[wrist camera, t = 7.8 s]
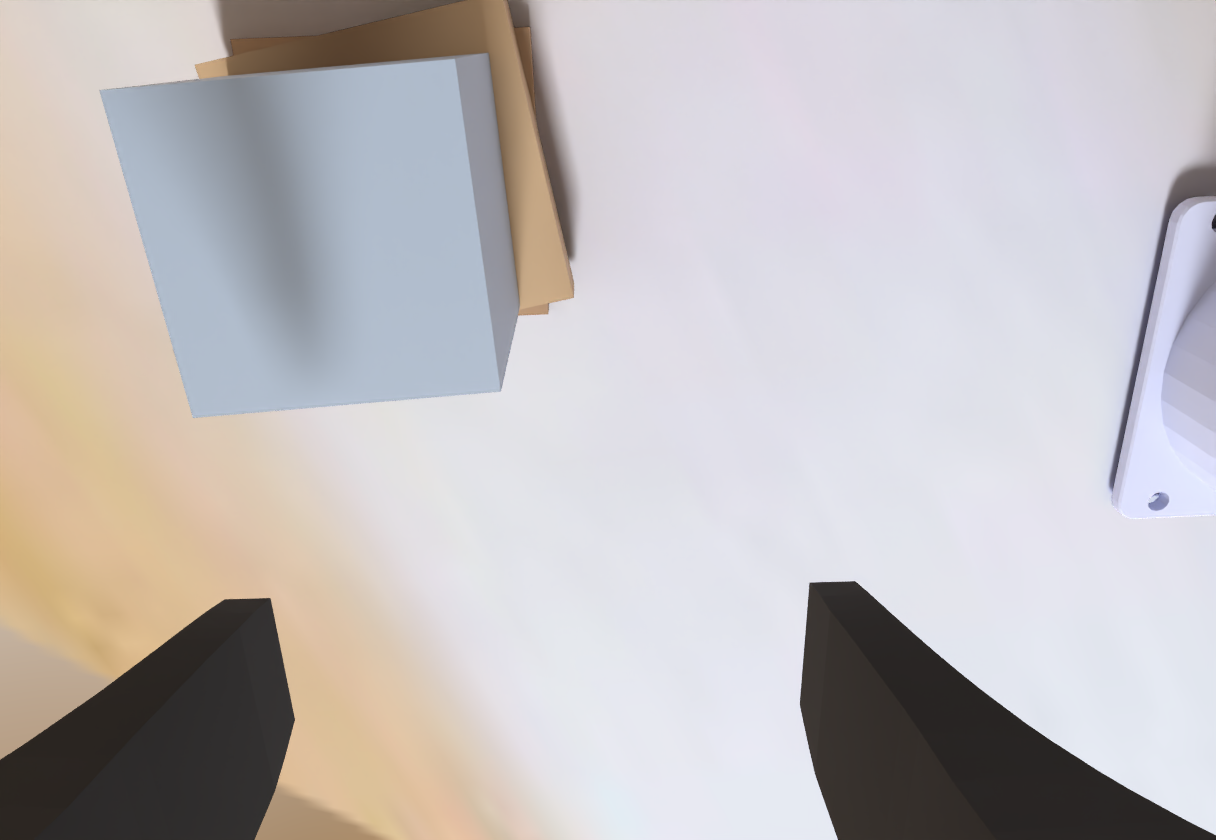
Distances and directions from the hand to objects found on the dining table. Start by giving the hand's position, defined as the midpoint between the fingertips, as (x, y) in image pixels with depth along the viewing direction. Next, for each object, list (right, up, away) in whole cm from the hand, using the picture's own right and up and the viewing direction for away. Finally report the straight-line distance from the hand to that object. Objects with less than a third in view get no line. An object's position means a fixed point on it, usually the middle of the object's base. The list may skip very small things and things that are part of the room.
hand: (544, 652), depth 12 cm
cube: (-4, +8, +6) cm, 10 cm away
